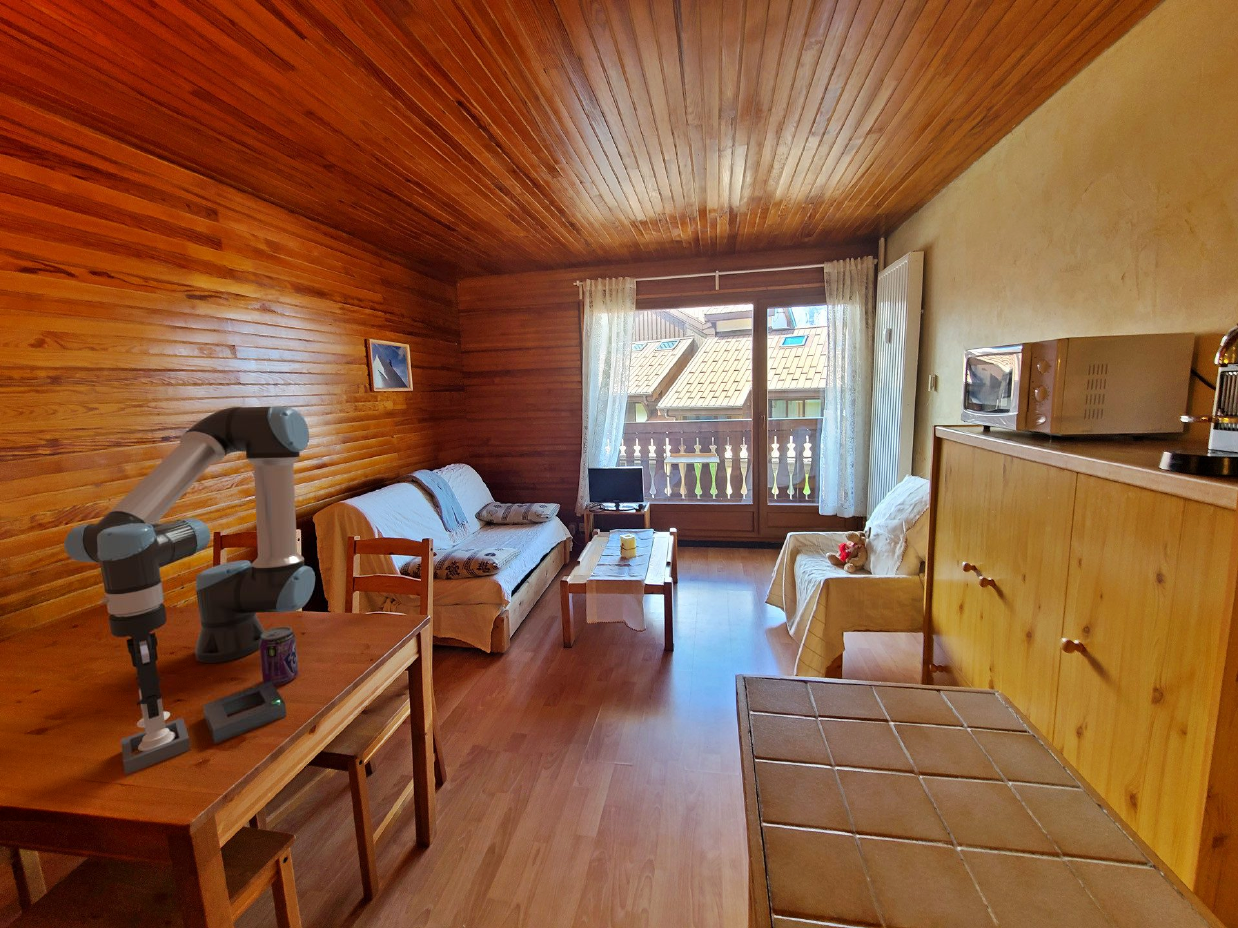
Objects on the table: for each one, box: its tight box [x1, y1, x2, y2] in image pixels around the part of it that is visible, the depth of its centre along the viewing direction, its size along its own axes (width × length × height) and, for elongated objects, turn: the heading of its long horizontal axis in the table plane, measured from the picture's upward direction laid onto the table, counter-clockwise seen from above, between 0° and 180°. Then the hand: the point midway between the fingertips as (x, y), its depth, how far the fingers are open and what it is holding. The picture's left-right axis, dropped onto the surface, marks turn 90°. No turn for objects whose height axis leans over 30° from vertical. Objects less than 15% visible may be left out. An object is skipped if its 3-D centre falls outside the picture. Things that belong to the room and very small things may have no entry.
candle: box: [136, 690, 176, 752], centre depth 96 cm, size 5×5×12 cm
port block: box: [202, 681, 287, 745], centre depth 106 cm, size 12×12×3 cm
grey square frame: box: [120, 717, 191, 776], centre depth 96 cm, size 9×9×2 cm
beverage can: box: [259, 626, 300, 686], centre depth 120 cm, size 7×7×12 cm
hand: (154, 723), depth 96 cm, fingers closed on candle, 5 cm apart
